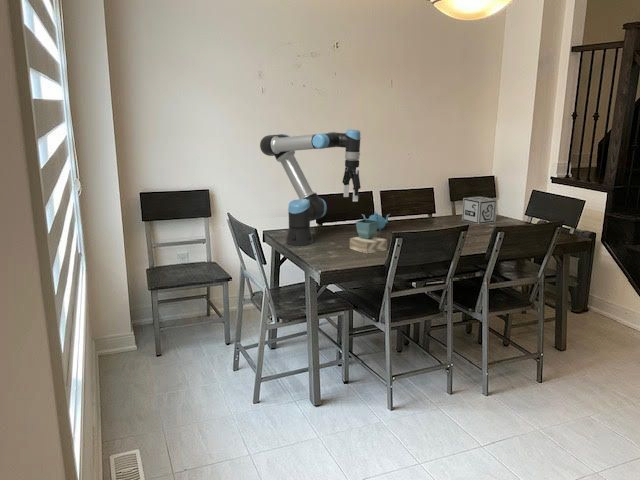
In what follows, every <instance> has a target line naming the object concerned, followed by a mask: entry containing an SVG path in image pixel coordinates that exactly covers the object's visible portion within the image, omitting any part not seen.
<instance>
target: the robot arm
mask: <svg viewBox="0 0 640 480" xmlns="http://www.w3.org/2000/svg"><path fill="white" fill-rule="evenodd" d="M361 139H362V138H361V131H360V130H359V129H347V130H346V132H345V133H344V132H335V131H332V132H327V133H322V132H321V133H317V134H316V133H315V134H304V135H303V134H302V135H293V136H291V135H288V134H283V133H281V134H269V135H266V136H264V137H263V138H261V140H260V143H259V148H260V151H261V152H262V153H263V154H264V155H265V156H268V157H273V156H274V158H275V160H276V161H277V162H278V163H280V164H281V166H282V167H283V169H284V172H285V173H286V176H287V178H288V179H289V181H290V183H291V186H292V187H293V188H294V191H295V192H296V195H297V197H298V199H294V200H291V201H290V202H289V203H288V208H287V211H288V230H287V233H286V237H285V243H286V244H287V245H291V246H308V245H313V243H314V237H313V234H312V231H311V225H310V224H311V222H312V221H315V220H316V221H317V220H319V219H322V218H323V217H324V216H325V215H326V214H327V210H328V207H327V205H328V204H327V202H326V201H325V200H324V199H323V198H321V197H319V195H318V194H317V192H314V191H313V189H312V188H311V186H310V183H309V182H308V180H307V178H306V176H305V174H304V172H303V170H302V169H301V166H300V164H299V162H298V161H297V160H298V159H296V157H295V155H296V151H305V150H306V151H308V150H323V149H329V148H330V149H331V148H345V153H344V154H345V155H344V158H345V160H344V167H345V168H344V173H343V177H342V184H343V198H349V197H350V195H349V194H350V193H349V192H350V181H351V182H352V185H353V187H352V202H358V201H359V190H360V189H361V180H360V171H359V169H357V168H359V167H360V155H361V151H360V150H361Z"/></svg>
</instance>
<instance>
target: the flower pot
mask: <svg viewBox="0 0 640 480" xmlns="http://www.w3.org/2000/svg"><path fill="white" fill-rule="evenodd" d="M368 219H369V218H368ZM368 219H367V218H366V219H364V218H363V219H360V220H357V221H355V224H356V225H355V227H356V232H357V234H358V237H360V238H366V239H369V238H372V237H374V236H376V235H375V233H376V232H377V231H378V229H377V226H378V221H375V220H368Z"/></svg>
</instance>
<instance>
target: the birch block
mask: <svg viewBox="0 0 640 480" xmlns="http://www.w3.org/2000/svg"><path fill="white" fill-rule="evenodd" d="M349 249H351V250H354V251H356V252H360V253H362V252H363V254H365V253H366V255H368V253H369V254H372V253H373V254H374V253H377V252H378V253H379V252H383V251H388V239H387V238H383V237H379V236H376V235H374V237H372V238H369V239H366V238H360V236H355V237H350V238H349Z"/></svg>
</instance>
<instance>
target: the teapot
mask: <svg viewBox="0 0 640 480" xmlns="http://www.w3.org/2000/svg"><path fill="white" fill-rule="evenodd" d="M390 215H391V213H389V214H387V215H386V217H385V219H384V217H383V216H382V215H381V214H378V213H377V211H376V210H374V213H373V214H371V215H370V216H369V217H368V220H375V221H378V226H377V231H380V232H381V231H382V230H383V229H384V228H385V226H386V225H387V224H388V221H389V216H390ZM361 216H362V217H363V220H364V219H367V218H366V215H365V214H364V213H363V214H362V213H361Z"/></svg>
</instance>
